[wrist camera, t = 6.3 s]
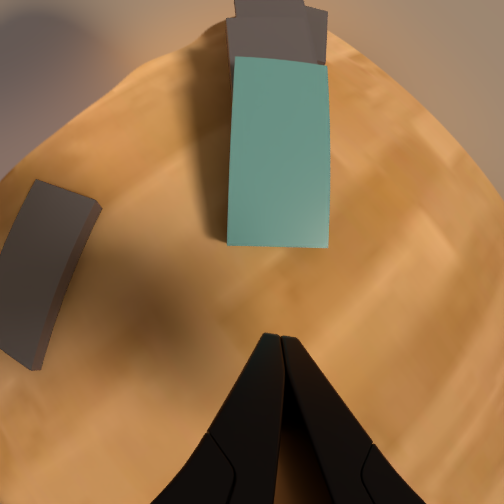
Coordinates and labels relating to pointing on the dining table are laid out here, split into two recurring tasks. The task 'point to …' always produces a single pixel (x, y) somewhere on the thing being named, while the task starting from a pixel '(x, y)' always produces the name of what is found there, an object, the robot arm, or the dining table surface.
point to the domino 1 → (40, 267)
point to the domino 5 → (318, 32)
